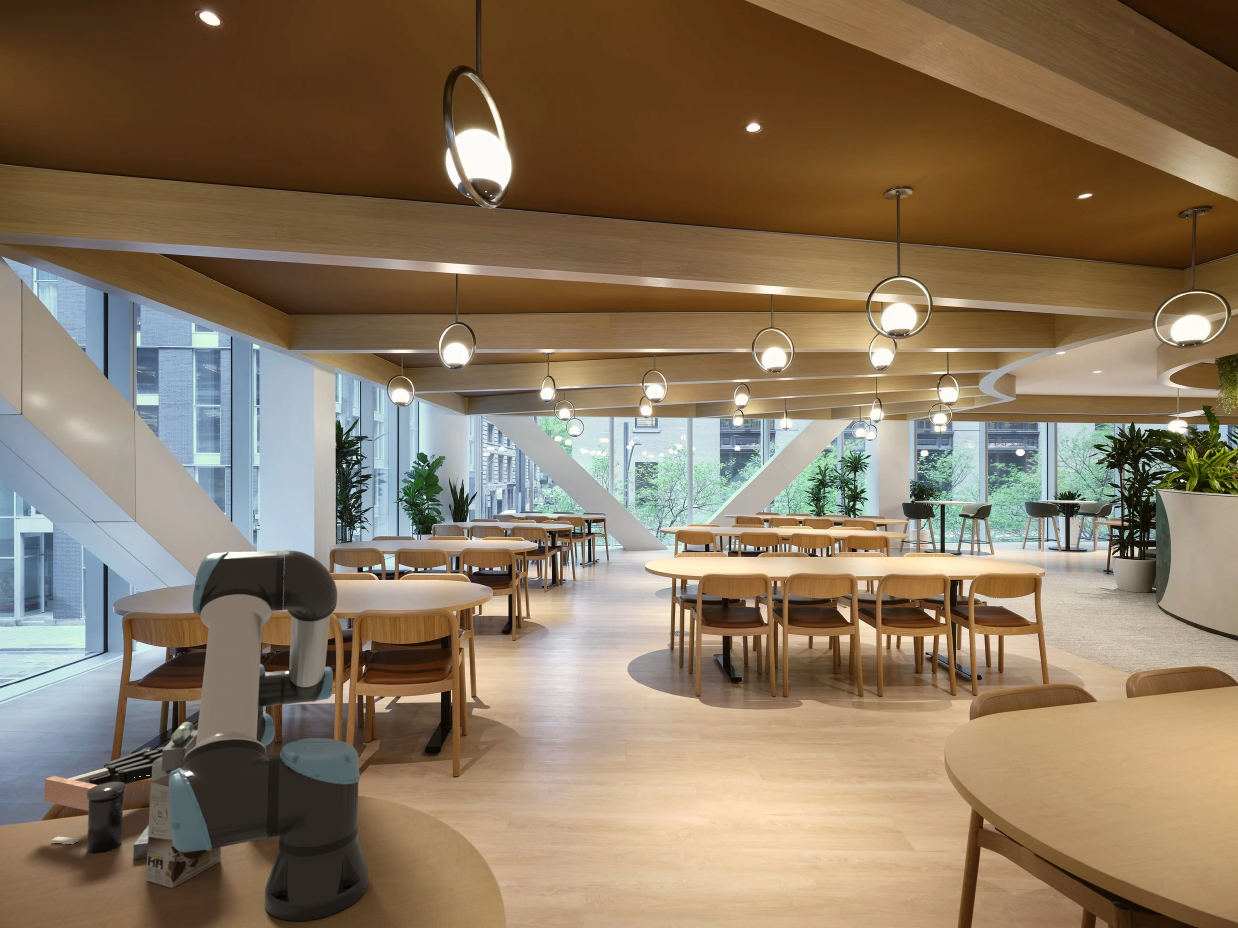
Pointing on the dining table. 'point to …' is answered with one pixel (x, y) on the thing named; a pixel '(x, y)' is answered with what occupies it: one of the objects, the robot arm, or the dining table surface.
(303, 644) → the robot arm
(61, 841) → the index mark
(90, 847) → the wooden-handled mallet
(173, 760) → the level instrument
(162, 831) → the coffee box
